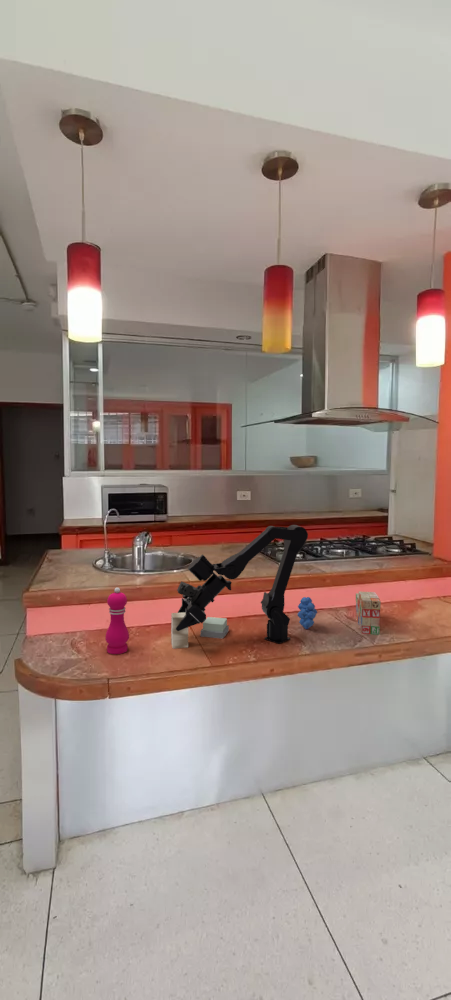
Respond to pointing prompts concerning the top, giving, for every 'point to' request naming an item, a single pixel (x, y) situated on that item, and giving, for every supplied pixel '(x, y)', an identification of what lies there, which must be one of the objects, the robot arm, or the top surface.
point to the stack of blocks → (368, 612)
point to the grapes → (306, 612)
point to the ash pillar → (178, 632)
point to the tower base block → (214, 633)
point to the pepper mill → (117, 624)
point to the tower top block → (215, 624)
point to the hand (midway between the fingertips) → (175, 625)
